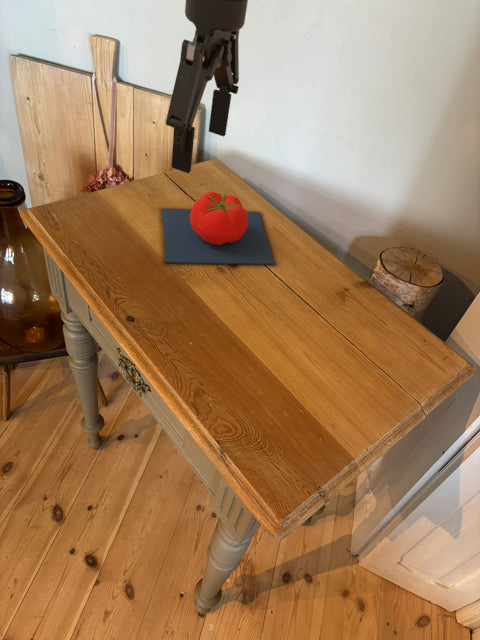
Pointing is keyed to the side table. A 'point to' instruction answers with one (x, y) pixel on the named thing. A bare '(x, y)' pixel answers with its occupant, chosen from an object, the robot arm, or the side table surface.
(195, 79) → the robot arm
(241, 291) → the side table surface
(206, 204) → the tomato
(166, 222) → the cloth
